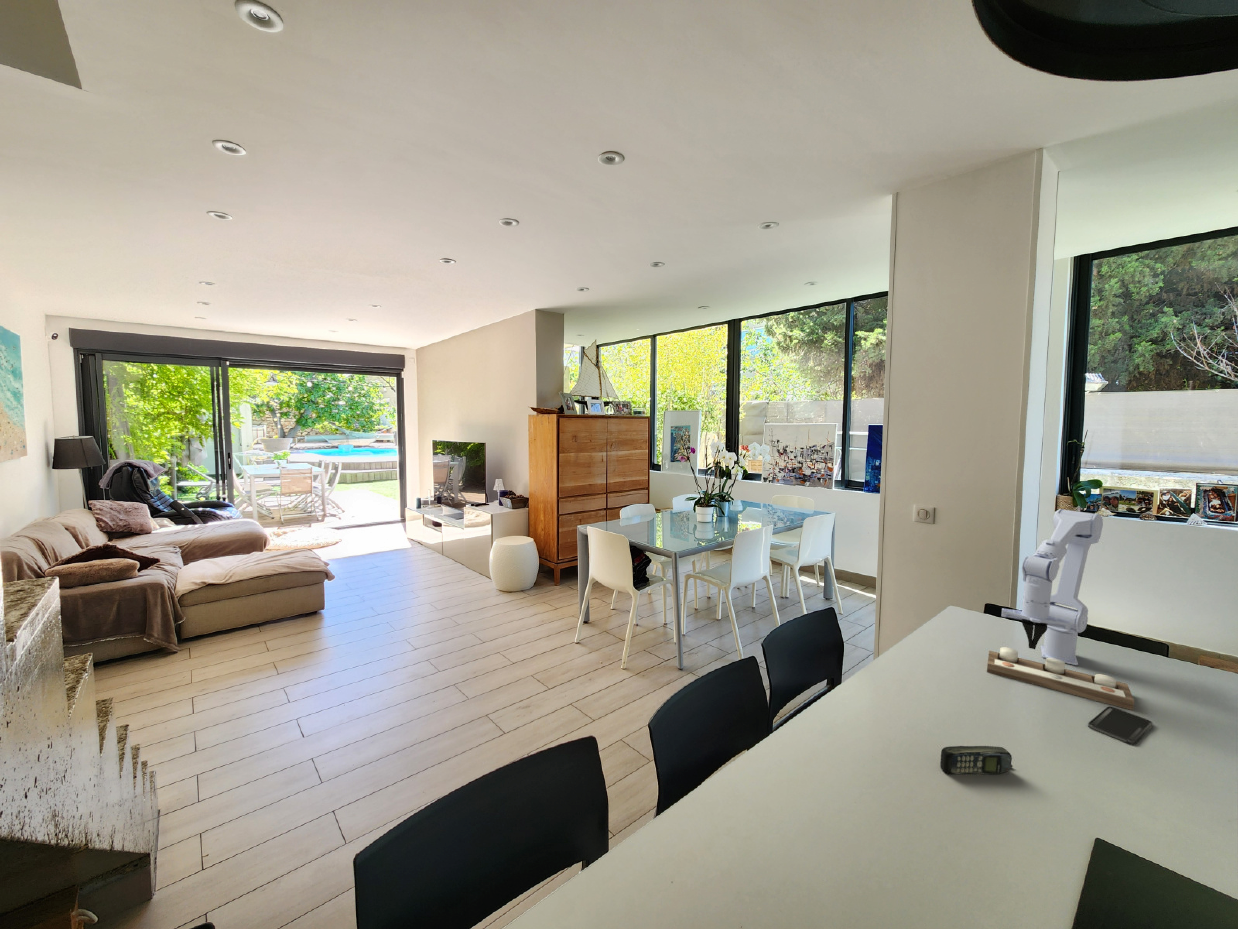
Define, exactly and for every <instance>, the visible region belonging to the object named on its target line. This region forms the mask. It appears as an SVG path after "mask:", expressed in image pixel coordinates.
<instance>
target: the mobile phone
mask: <svg viewBox="0 0 1238 929" xmlns="http://www.w3.org/2000/svg"><path fill="white" fill-rule="evenodd" d="M940 752H941V753H940V763H939V765H940V769H941V771H942V772H943V773H945V774H947V775H993V776H994V775H999V774H1002V773H1005V772H1008V771H1009V770H1010V769H1012V768H1013V767H1014V766H1013V763H1012V761H1013V760H1012V759H1013V758H1012V757H1013V756H1012V754H1011V753H1010V752H1009V751H1008V750H1007V749H1006V748H1004V747H1001V746H993V745H992V746H991V745H990V746H989V745H970V746H969V745H955V746H945V747H943V748H942V749H941V751H940Z"/></svg>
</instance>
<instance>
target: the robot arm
mask: <svg viewBox="0 0 1238 929" xmlns="http://www.w3.org/2000/svg"><path fill="white" fill-rule="evenodd" d="M1103 522H1104V519H1103V516H1101V514H1100V513H1092V512H1083V511H1078V510H1077V511H1075V510H1068V509H1064V508H1059V509H1058V510H1056V511H1055V513H1054V514H1053V518H1052V524H1053V526H1054V531H1053V532H1052V535H1051V537H1050V539H1044V540H1043V541H1042V542H1041V543H1040V545H1039V546H1038V547H1037V549H1036V550H1035V551H1034V553H1033V554H1032V555H1029V556H1026V557H1025V558H1024V559H1023V562H1022V567H1021V570H1022V571H1021V572H1022V575H1023V576H1022V580H1023V582H1024V588H1023V590H1024V591H1023V599H1022V601H1023V602H1022V608H1021V609H1022V610H1019V609H1017V610H1016V609H1009V608H1001V617H1002V618H1011V619H1015V620H1021V624H1022V627H1023V629H1024V631H1025V633H1026V637H1027V640H1028V648H1029V649H1031V650H1036V648H1037V645H1038V642H1040V639H1041V638H1042V637H1043V635H1044V641H1043V645H1040V651H1041V652H1040V653H1041V657H1042V658H1043V659H1046V658H1055V659H1058V660H1061V661H1063V662H1064V663H1065V664H1069V665H1073V666H1078V665H1079V662H1078V659H1077V655H1076V654H1077V644H1078V634H1081V633H1082V632H1084V631H1085V630H1086V629H1087V624H1088V620H1089V617H1088V615H1089V608H1088V607H1087V605H1085V604H1084V603H1083V602H1082V601H1081V600H1080V599H1079V594H1080V589H1081V584H1082V580H1083V575H1084V572H1085V571H1084V570H1085V567H1086V562H1087V558H1088V553H1089V551H1090V548H1091V545H1093V544H1094V545H1095V544H1099V542H1100V539H1101V536H1102V532H1103V525H1104V523H1103ZM1062 560H1063V563H1062V568H1061V570H1060V571H1061V572H1060V576H1059V580H1058V585H1057V589H1056V593H1053V594H1052V592H1053V591H1052V588H1053V582H1054V580H1056V579H1057V575H1058V572H1059V569H1060V567H1061V566H1060V563H1061V562H1062ZM1062 605H1063V606H1062ZM1066 606H1067V607H1066ZM1070 607H1071V608H1070Z"/></svg>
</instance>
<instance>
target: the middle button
mask: <svg viewBox="0 0 1238 929" xmlns="http://www.w3.org/2000/svg"><path fill="white" fill-rule="evenodd" d="M1044 664H1045V669H1046V670H1048V671H1050V672H1053V673H1058V674H1063V673H1064V670H1065V669H1066V663H1064V662H1063V661H1061V660H1058V659H1055V658H1045V663H1044Z"/></svg>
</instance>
